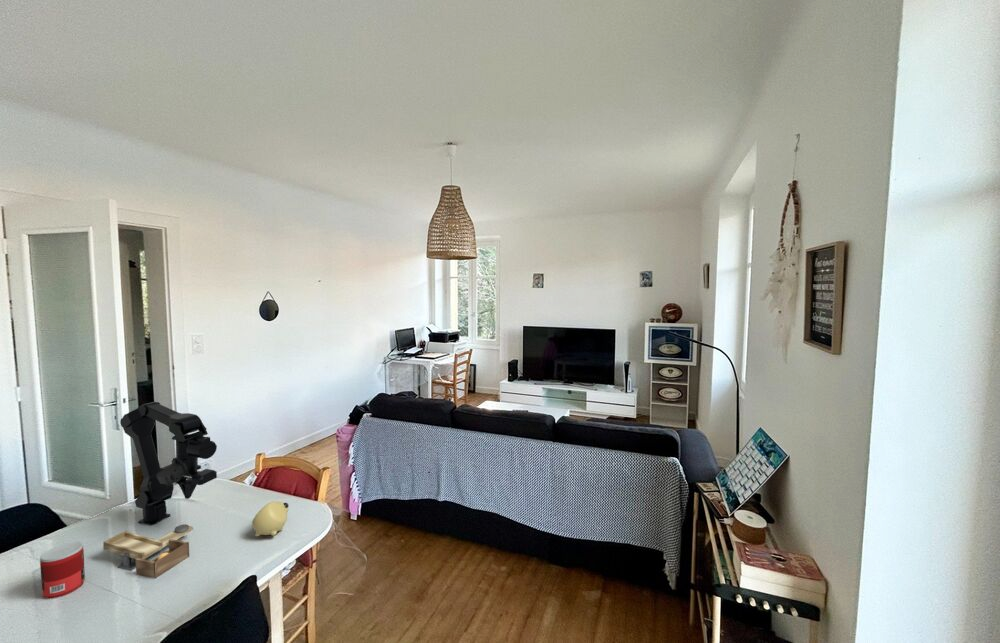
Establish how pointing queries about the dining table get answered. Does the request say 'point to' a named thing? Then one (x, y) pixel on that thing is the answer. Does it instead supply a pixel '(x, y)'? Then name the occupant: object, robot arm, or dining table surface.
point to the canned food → (62, 569)
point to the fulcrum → (132, 561)
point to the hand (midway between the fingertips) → (188, 498)
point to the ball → (162, 555)
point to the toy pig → (270, 518)
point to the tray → (163, 560)
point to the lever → (142, 542)
